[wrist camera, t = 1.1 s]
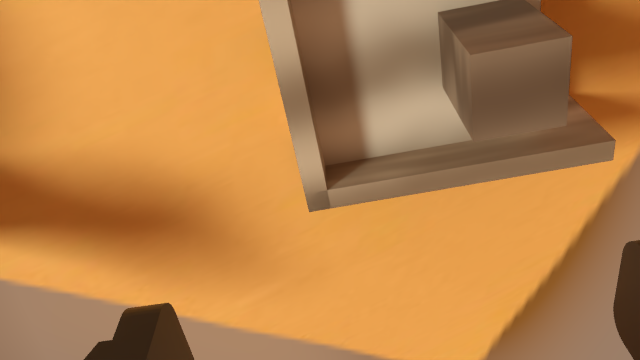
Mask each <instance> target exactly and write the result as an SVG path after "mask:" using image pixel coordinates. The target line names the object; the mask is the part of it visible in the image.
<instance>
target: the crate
mask: <svg viewBox="0 0 640 360" xmlns="http://www.w3.org/2000/svg"><path fill="white" fill-rule="evenodd" d="M493 1H498V0H259V3H260V7H261V12H262V16H263V20H264V24H265V28H266V33H267V37H268V41H269V45H270V49H271V54H272V58H273V62H274V66H275V70H276V75H277V79H278V83H279V87H280V91H281V96H282V100H283V104H284V108H285V112H286V117H287V121H288V125H289V129H290V133H291V138H292V142H293V146H294V150H295V154H296V159H297V163H298V167H299V171H300V175H301V179H302V184H303V188H304V192H305V196H306V200H307V205H308V209H309V212H312V211H318V210H324V209H330V208H336V207H342V206H348V205H353V204H359V203H365V202H371V201H377V200H383V199H389V198H394V197H400V196H406V195H412V194H418V193H424V192H430V191H435V190H441V189H447V188H453V187H459V186H465V185H471V184H476V183H482V182H488V181H494V180H500V179H506V178H512V177H517V176H523V175H529V174H535V173H541V172H547V171H553V170H558V169H564V168H570V167H576V166H582V165H588V164H594V163H599V162H605V161H611V160H613V157H614V149H615V139H614V138H613V137H612V136H611V135H610V134H609V133H608V132H607V131H605V130H604V129H603V128H602V127H601V126H600V125H599V124H598V123H597V122H596V121H595V120H594V119H593V118H592V117H591V116H590V115H589V114H588V113H587V112H586V111H585V110H584V109H583V108H582V107H581V106H580V105H579V104H578V103H577V102H576V101H575V100H574V99H573V98H572V97H571V96H570V95H569V96H568V111H567V126H562V127H556V128H551V129H545V130H539V131H534V132H528V133H522V134H517V135H511V136H505V137H499V138H494V139H488V140H482V141H477V142H473V140H472V139H471V137H470V135H469V133H468V131H467V130H466V128H465V126H464V124H463V123H462V121H461V119H460V117H459V115H458V114H457V112H456V110H455V108H454V107H453V105H452V103H451V101H450V100H449V98H448V96H447V94H446V92H445V91H444V89H443V86H442V71H441V56H440V41H439V26H438V12H441V11H446V10H451V9H456V8H462V7H467V6H472V5H477V4H483V3H488V2H493ZM526 1H527V2H528V3H530V4H531V5H532V6H534V7H535V8H536V9H538V10H539V11H541V0H526Z"/></svg>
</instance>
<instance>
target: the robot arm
mask: <svg viewBox="0 0 640 360" xmlns="http://www.w3.org/2000/svg"><path fill="white" fill-rule="evenodd" d="M613 308H614V310H613V311H614V319H615V323H616V327H617V330H618V332H619V335H620V337H621V339H622V341H623V343H624V345H625V346H626V348H627V349H628V351H629V353H630V354H631V356H632V357H633V359H634V360H640V240H638V241H631V242H628V243H626V245H625V247H624V249H623V253H622V259H621V265H620V271H619V276H618V282H617V288H616V294H615V300H614V307H613ZM84 360H194V357H193V355H192V352H191V350H190V347H189V345H188V342H187V340H186V338H185V335H184V333H183V330H182V328H181V325H180V323H179V320H178V318H177V315H176V313H175V311H174V308H173V307H172V305H171V304H169V303H163V304H156V305H148V306H141V307H134V308H128V309H126V310H125V311H124V312H123V314H122V316H121V318H120V321H119V324H118V326H117V329H116V332H115V334H114V337H113V340H110V341H102V342H98V344H97V345H96V346H95V347H94V348H93V349H92V351H91V352H90V353H89V354H88V355H87V357H86V358H85V359H84Z"/></svg>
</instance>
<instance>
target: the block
mask: <svg viewBox="0 0 640 360" xmlns="http://www.w3.org/2000/svg"><path fill="white" fill-rule="evenodd" d="M438 26H439V41H440V56H441V71H442V86H443V89H444V91H445V92H446V94H447V96H448V98H449V100H450V101H451V103H452V105H453V107H454V108H455V110H456V112H457V114H458V115H459V117H460V119H461V121H462V123H463V124H464V126H465V128H466V130H467V131H468V133H469V135H470V137H471V139H472V140H473V142H477V141H482V140H488V139H494V138H499V137H505V136H511V135H517V134H522V133H528V132H534V131H539V130H545V129H551V128H556V127H562V126H567V111H568V96H569V81H570V66H571V51H572V35H570V34H569V33H568V32H566V31H565V30H564V29H563V28H561V27H560V26H559V25H557V24H556V23H555V22H553V21H552V20H551V19H549V18H548V17H547V16H545V15H544V14H543V13H541V12H540V11H539V10H538V9H536V8H535V7H534V6H532V5H531V4H530V3H528V2H527V1H526V0H498V1H493V2H488V3H483V4H477V5H472V6H467V7H462V8H456V9H451V10H446V11H441V12H438Z"/></svg>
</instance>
